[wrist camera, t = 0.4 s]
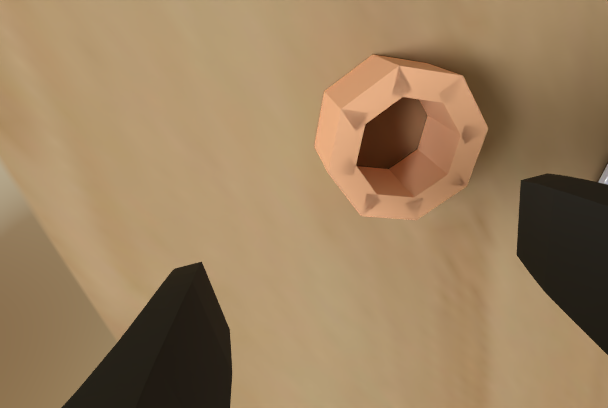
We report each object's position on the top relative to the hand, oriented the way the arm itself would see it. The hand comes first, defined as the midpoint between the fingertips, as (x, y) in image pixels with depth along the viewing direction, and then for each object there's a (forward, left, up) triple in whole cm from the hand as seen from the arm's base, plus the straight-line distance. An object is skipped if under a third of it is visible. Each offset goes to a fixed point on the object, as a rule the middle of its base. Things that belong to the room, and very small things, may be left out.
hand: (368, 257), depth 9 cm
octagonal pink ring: (-3, -1, -9) cm, 10 cm away
